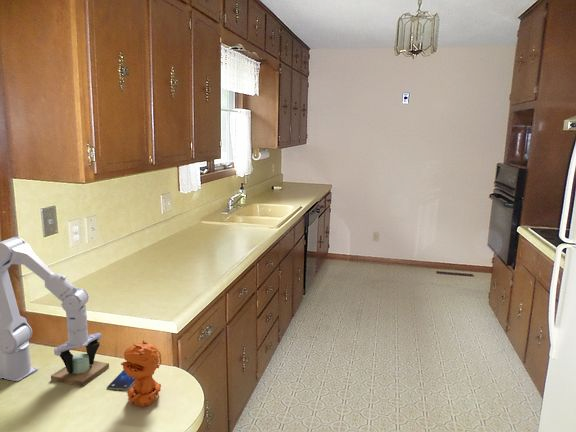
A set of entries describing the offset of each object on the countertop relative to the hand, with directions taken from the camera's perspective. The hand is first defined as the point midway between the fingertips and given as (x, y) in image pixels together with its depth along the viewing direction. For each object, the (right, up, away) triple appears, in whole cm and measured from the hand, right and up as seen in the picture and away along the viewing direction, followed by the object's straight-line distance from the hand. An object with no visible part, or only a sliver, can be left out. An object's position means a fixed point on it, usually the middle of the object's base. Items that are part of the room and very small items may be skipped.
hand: (80, 367), depth 142 cm
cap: (0, -1, 0) cm, 1 cm away
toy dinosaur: (+25, -5, -14) cm, 29 cm away
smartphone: (+16, -3, -2) cm, 16 cm away
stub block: (0, -2, 0) cm, 2 cm away
